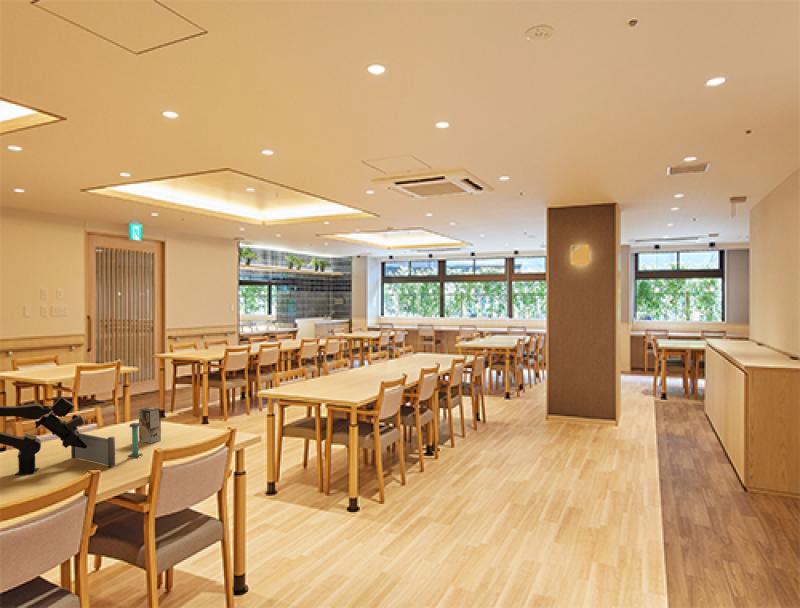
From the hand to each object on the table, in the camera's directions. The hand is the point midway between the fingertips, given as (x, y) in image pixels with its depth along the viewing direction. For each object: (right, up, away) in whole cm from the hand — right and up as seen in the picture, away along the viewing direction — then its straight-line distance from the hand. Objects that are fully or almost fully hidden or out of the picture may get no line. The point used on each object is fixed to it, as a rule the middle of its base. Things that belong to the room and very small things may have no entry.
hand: (86, 447), depth 230 cm
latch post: (+16, -7, +10) cm, 20 cm away
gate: (+2, -6, +2) cm, 7 cm away
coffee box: (+11, -7, +36) cm, 38 cm away
